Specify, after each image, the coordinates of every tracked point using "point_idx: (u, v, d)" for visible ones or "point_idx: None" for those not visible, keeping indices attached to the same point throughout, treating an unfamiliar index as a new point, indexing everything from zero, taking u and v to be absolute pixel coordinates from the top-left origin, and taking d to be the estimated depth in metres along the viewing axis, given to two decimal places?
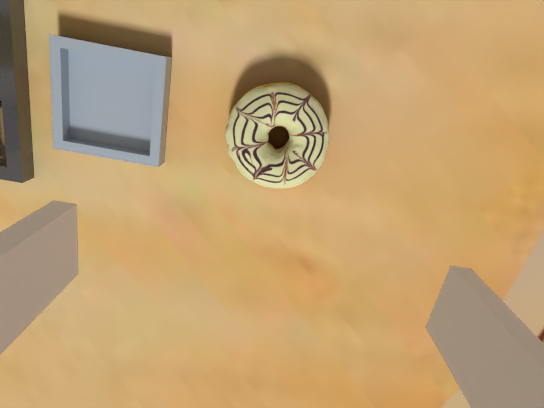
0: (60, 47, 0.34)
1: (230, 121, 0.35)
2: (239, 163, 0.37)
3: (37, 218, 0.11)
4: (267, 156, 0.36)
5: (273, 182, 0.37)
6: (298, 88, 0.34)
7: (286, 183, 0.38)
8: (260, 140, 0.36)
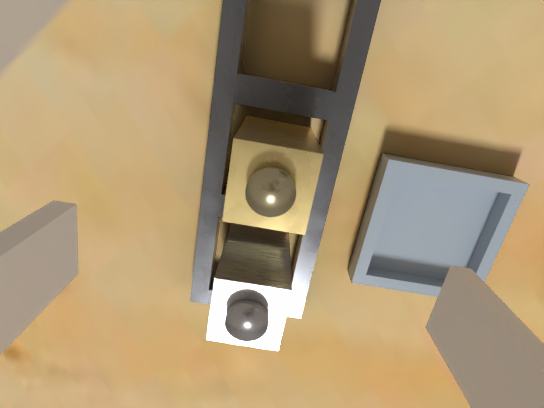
0: (397, 173, 0.27)
1: None
2: None
3: (37, 218, 0.11)
4: None
5: None
6: None
7: None
8: None
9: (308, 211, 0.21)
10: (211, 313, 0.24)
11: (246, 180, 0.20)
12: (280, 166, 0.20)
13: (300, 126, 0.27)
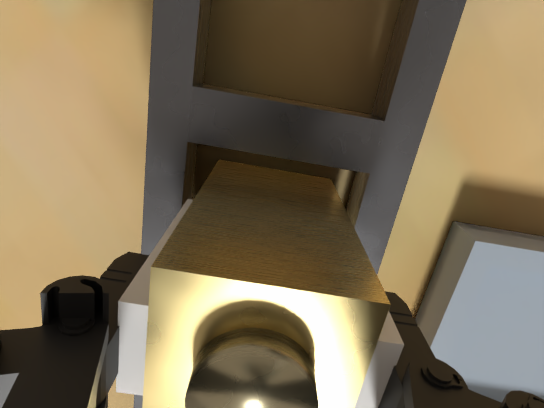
0: (489, 264, 0.15)
1: None
2: None
3: None
4: None
5: None
6: None
7: None
8: None
9: None
10: None
11: (192, 359, 0.08)
12: (277, 330, 0.08)
13: (313, 179, 0.15)
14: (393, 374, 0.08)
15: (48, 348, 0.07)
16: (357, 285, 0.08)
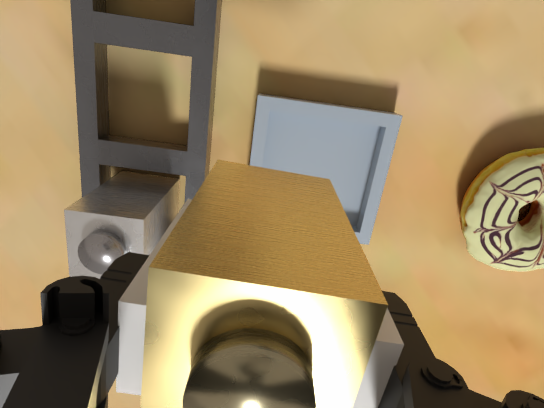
0: (269, 110, 0.27)
1: (479, 199, 0.28)
2: (479, 246, 0.30)
3: None
4: (518, 238, 0.29)
5: (519, 266, 0.30)
6: None
7: (534, 267, 0.31)
8: (514, 220, 0.29)
9: None
10: (69, 248, 0.24)
11: (190, 360, 0.08)
12: (274, 330, 0.08)
13: (312, 179, 0.15)
14: (393, 374, 0.08)
15: (48, 348, 0.07)
16: (355, 285, 0.08)
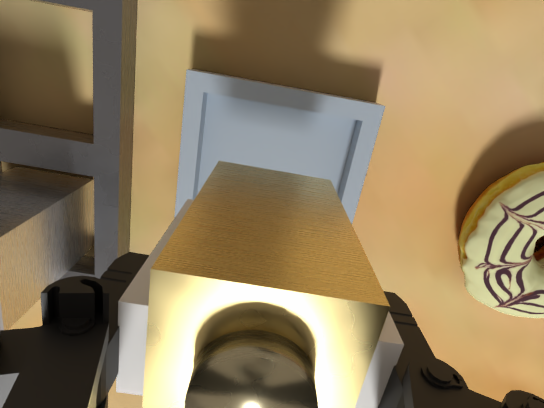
0: (203, 91, 0.20)
1: (485, 225, 0.21)
2: (482, 285, 0.23)
3: None
4: (533, 277, 0.22)
5: (532, 313, 0.23)
6: None
7: None
8: (530, 254, 0.22)
9: None
10: None
11: (191, 361, 0.08)
12: (277, 331, 0.08)
13: (313, 180, 0.15)
14: (393, 374, 0.08)
15: (48, 348, 0.07)
16: (357, 287, 0.08)
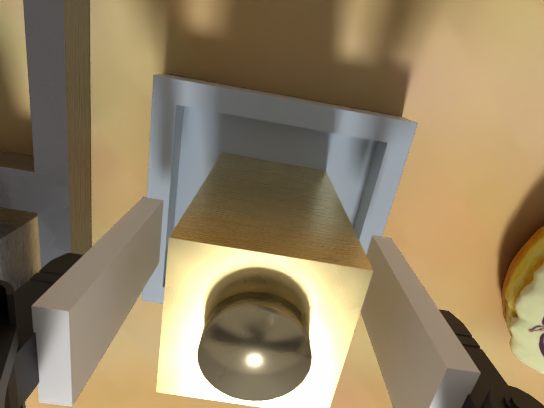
0: (176, 104, 0.15)
1: None
2: (535, 351, 0.18)
3: (138, 212, 0.12)
4: None
5: None
6: None
7: None
8: None
9: (335, 376, 0.10)
10: None
11: (202, 320, 0.09)
12: (276, 293, 0.09)
13: (310, 170, 0.17)
14: (467, 403, 0.08)
15: None
16: (345, 255, 0.09)
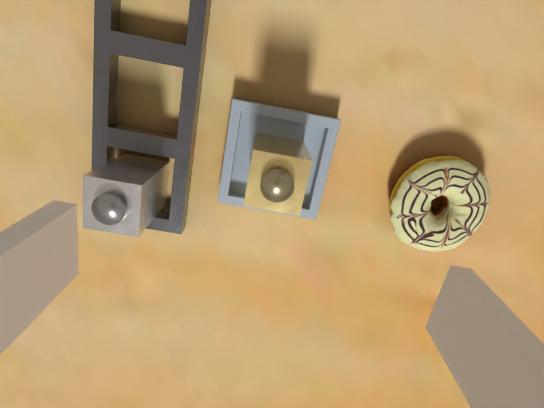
0: (240, 111, 0.36)
1: (400, 192, 0.38)
2: (401, 229, 0.39)
3: (37, 218, 0.11)
4: (430, 223, 0.39)
5: (431, 246, 0.40)
6: (468, 164, 0.37)
7: (442, 248, 0.40)
8: (426, 209, 0.38)
9: (302, 199, 0.31)
10: (84, 205, 0.32)
11: (260, 177, 0.30)
12: (283, 168, 0.30)
13: (296, 141, 0.37)
14: None
15: None
16: (305, 157, 0.30)
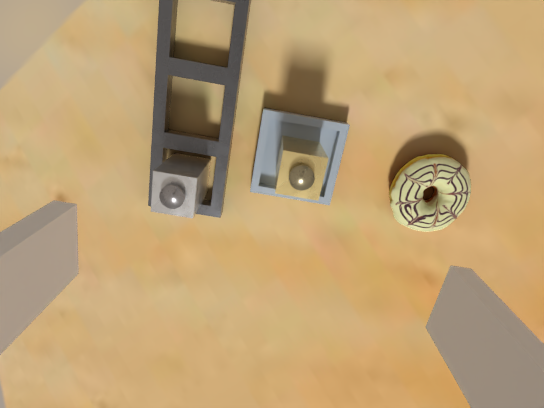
0: (270, 118, 0.45)
1: (398, 183, 0.47)
2: (399, 213, 0.48)
3: (37, 218, 0.11)
4: (422, 208, 0.48)
5: (424, 227, 0.49)
6: (453, 160, 0.46)
7: (433, 228, 0.49)
8: (419, 197, 0.47)
9: (320, 188, 0.40)
10: (152, 193, 0.41)
11: (288, 171, 0.39)
12: (306, 164, 0.39)
13: (313, 141, 0.47)
14: None
15: None
16: (322, 156, 0.39)
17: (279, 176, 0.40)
